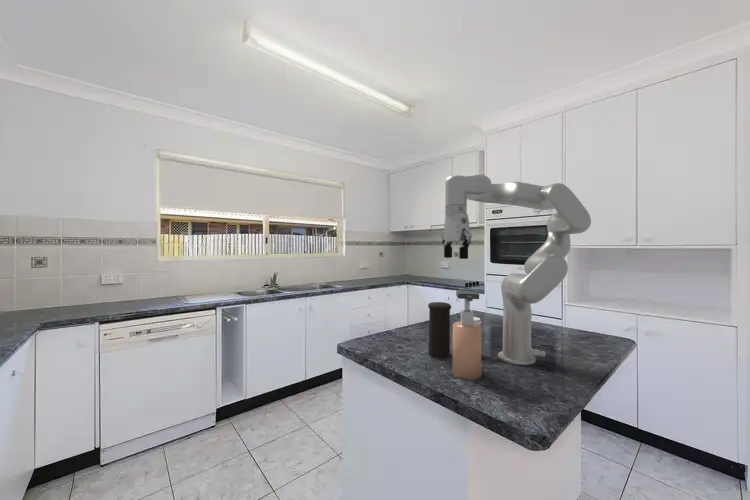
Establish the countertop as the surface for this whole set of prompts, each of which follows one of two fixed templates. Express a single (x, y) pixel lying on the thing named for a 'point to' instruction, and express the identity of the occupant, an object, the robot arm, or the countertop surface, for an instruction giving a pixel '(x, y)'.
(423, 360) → the countertop surface
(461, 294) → the pump head
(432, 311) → the container
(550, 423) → the countertop surface
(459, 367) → the pump dispenser
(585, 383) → the countertop surface
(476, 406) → the countertop surface
